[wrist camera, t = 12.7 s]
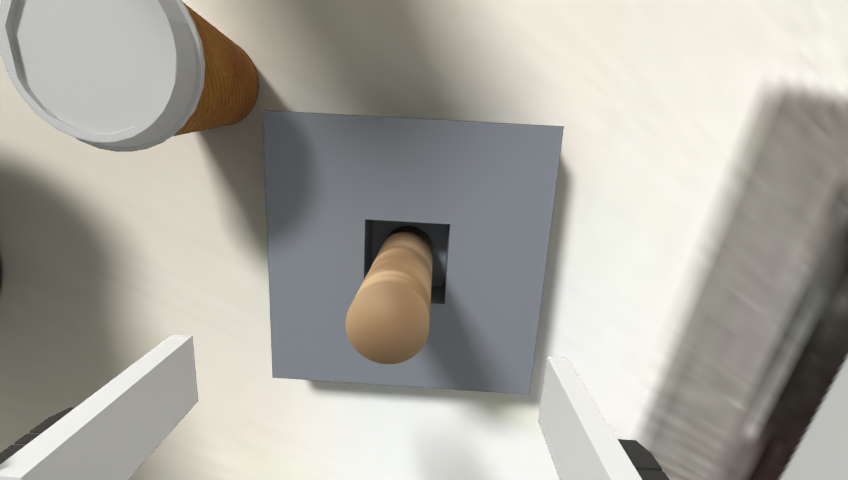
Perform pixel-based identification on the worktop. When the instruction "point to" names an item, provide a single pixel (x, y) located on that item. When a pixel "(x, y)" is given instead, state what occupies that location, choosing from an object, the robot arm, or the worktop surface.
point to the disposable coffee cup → (124, 69)
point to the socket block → (420, 207)
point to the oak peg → (394, 299)
